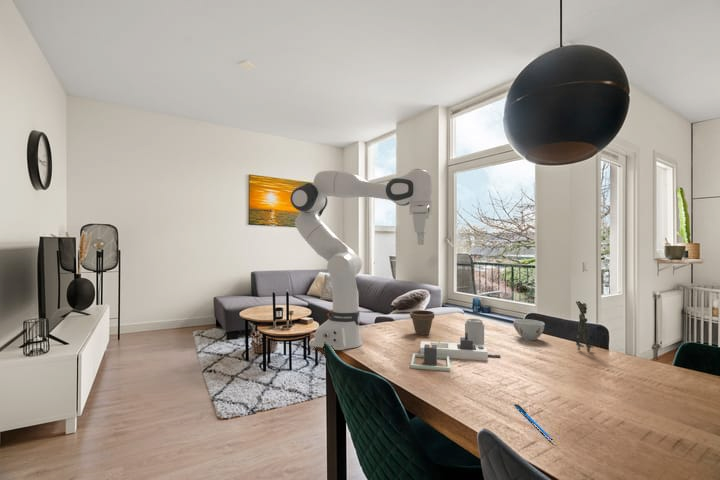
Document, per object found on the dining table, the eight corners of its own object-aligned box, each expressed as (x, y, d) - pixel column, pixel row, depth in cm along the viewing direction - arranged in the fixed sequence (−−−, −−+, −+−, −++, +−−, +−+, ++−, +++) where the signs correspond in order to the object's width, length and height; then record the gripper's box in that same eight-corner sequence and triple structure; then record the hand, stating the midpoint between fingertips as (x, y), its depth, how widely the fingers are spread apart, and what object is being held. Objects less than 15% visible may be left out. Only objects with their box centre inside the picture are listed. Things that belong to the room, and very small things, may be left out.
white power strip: (420, 358, 133) (420, 345, 133) (421, 350, 142) (421, 339, 142) (502, 364, 127) (502, 351, 127) (498, 356, 136) (498, 344, 136)
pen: (516, 406, 95) (516, 401, 95) (558, 447, 76) (558, 442, 76) (513, 406, 95) (513, 401, 95) (553, 447, 76) (554, 442, 76)
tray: (410, 370, 120) (410, 364, 120) (413, 358, 132) (413, 353, 132) (450, 373, 117) (450, 367, 117) (449, 361, 130) (449, 355, 130)
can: (481, 346, 148) (481, 318, 148) (486, 352, 140) (486, 322, 140) (463, 346, 148) (463, 317, 149) (466, 351, 141) (466, 321, 141)
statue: (596, 354, 139) (596, 302, 139) (577, 352, 141) (577, 301, 141) (592, 350, 143) (592, 301, 143) (574, 349, 145) (574, 300, 145)
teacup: (551, 341, 157) (551, 323, 157) (530, 344, 152) (530, 325, 152) (523, 333, 171) (523, 316, 171) (503, 335, 166) (503, 318, 166)
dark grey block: (424, 365, 123) (424, 347, 123) (424, 361, 127) (424, 343, 127) (436, 365, 122) (436, 348, 122) (436, 361, 126) (436, 344, 126)
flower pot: (409, 335, 165) (409, 314, 165) (410, 329, 176) (410, 309, 176) (434, 337, 163) (434, 315, 163) (433, 331, 174) (433, 310, 174)
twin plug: (460, 356, 132) (461, 333, 132) (460, 353, 136) (460, 331, 136) (472, 357, 131) (472, 334, 131) (471, 353, 135) (471, 331, 135)
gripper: (414, 212, 152) (414, 244, 152) (410, 207, 132) (410, 244, 132) (429, 212, 151) (429, 244, 151) (428, 207, 131) (428, 244, 131)
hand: (420, 244), depth 141 cm, fingers open, 8 cm apart
